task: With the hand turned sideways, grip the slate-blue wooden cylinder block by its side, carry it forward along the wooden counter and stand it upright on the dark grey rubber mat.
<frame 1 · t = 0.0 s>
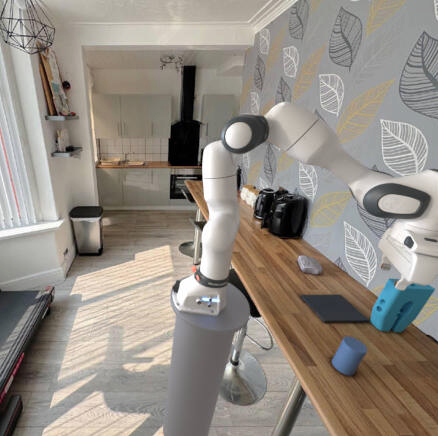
hand: (390, 278, 65), 31 cm above the table, tool pointing down, fingers open, 8 cm apart
block: (385, 326, 89), on the table
stone block: (309, 268, 123), on the table
cylinder block: (342, 366, 74), on the table
mat: (332, 308, 96), on the table
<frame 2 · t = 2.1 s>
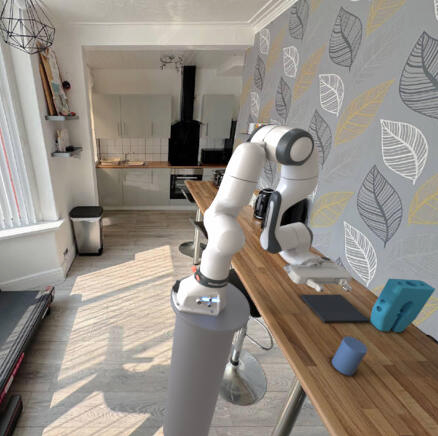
hand: (335, 290, 77), 20 cm above the table, tool horizontal, fingers open, 8 cm apart
nothing on the table moved.
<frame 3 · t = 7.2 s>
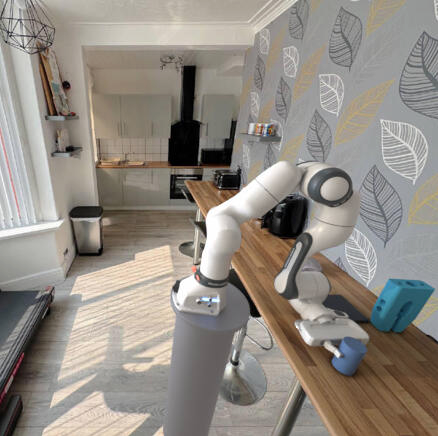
hand: (352, 356, 70), 6 cm above the table, tool horizontal, fingers closed on cylinder block, 5 cm apart
cylinder block: (342, 366, 74), on the table, touching gripper
everything else where it was.
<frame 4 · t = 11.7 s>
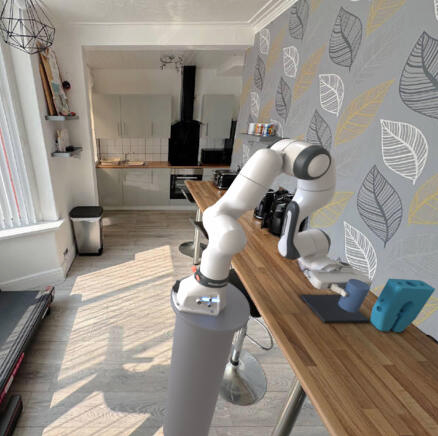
hand: (356, 295, 79), 17 cm above the table, tool horizontal, fingers closed on cylinder block, 5 cm apart
cylinder block: (347, 306, 82), point 11 cm above the table, touching gripper
everything else where it was.
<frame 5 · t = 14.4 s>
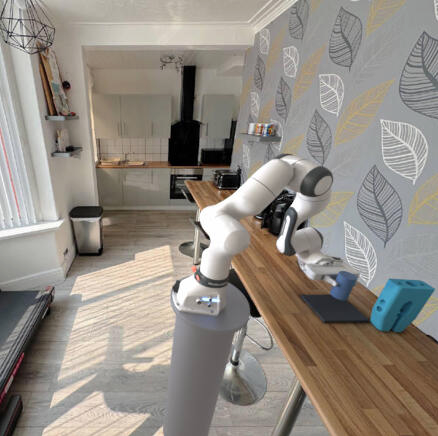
hand: (346, 285, 90), 13 cm above the table, tool horizontal, fingers closed on cylinder block, 5 cm apart
cylinder block: (338, 295, 94), point 7 cm above the table, touching gripper
everything else where it was.
when the fingers open (7 cm above the table, at t = 16.6 s): cylinder block stays where it is, resting on mat.
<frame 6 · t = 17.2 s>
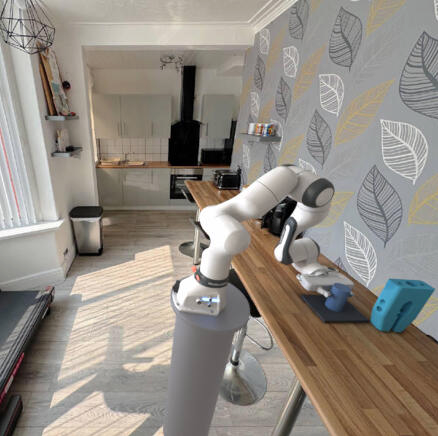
hand: (340, 296, 93), 7 cm above the table, tool horizontal, fingers open, 8 cm apart
cylinder block: (333, 306, 96), point 1 cm above the table, touching mat
everything else where it was.
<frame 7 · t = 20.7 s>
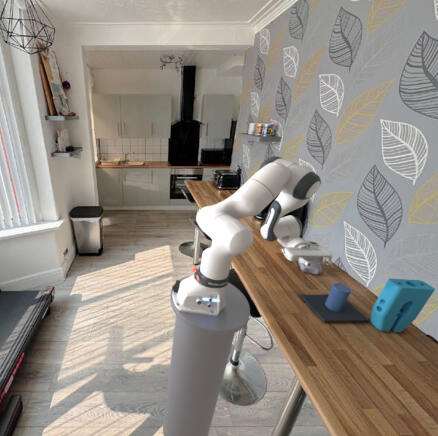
hand: (319, 264, 102), 13 cm above the table, tool horizontal, fingers open, 8 cm apart
nothing on the table moved.
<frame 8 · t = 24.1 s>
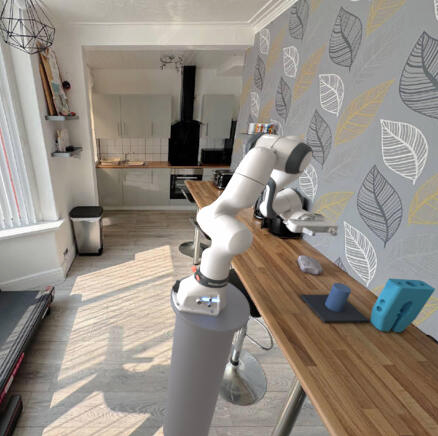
hand: (324, 234, 96), 28 cm above the table, tool horizontal, fingers open, 8 cm apart
nothing on the table moved.
at the end: cylinder block inside the target area on the mat (0.0 cm from its centre), point 1.0 cm above the mat's base; cylinder block tilted 0°; the gripper is holding nothing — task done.
